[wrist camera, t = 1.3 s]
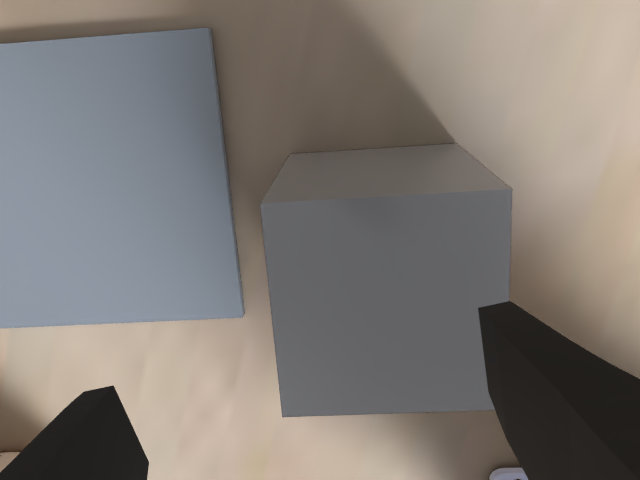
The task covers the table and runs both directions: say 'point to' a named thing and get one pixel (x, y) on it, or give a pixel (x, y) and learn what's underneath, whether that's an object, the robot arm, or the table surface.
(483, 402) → the blue-gray cube on pad
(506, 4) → the table surface
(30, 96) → the slate mat
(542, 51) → the table surface
